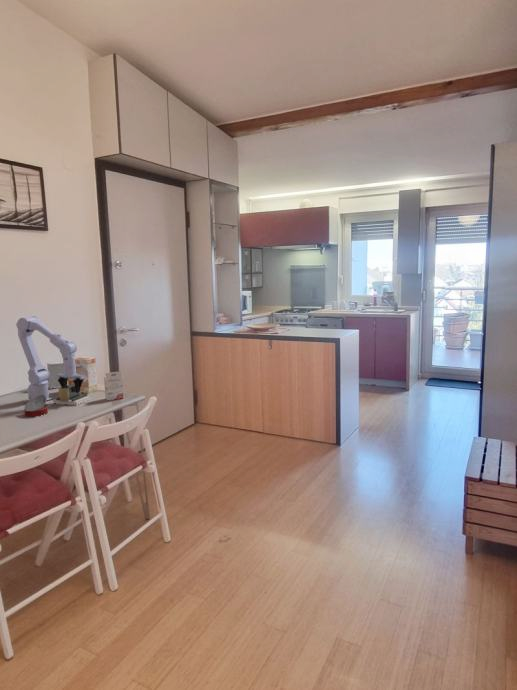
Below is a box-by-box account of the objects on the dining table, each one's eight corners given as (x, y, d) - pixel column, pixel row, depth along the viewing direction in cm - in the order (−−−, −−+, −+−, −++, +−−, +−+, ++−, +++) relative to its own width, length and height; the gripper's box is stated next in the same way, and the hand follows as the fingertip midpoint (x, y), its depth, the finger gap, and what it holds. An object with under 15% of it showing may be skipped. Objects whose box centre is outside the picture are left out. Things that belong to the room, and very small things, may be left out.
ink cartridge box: (121, 396, 243) (120, 369, 241) (123, 398, 239) (122, 371, 237) (105, 398, 239) (103, 371, 237) (106, 400, 235) (105, 373, 233)
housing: (72, 395, 238) (71, 383, 237) (80, 396, 237) (80, 384, 236) (59, 400, 229) (58, 388, 228) (67, 401, 227) (67, 388, 226)
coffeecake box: (68, 391, 256) (65, 357, 253) (77, 388, 262) (75, 355, 259) (88, 393, 250) (86, 359, 247) (98, 390, 257) (95, 357, 254)
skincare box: (50, 389, 261) (48, 364, 259) (48, 387, 266) (46, 362, 264) (65, 387, 266) (63, 362, 264) (63, 385, 271) (61, 361, 268)
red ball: (48, 423, 214) (50, 407, 210) (24, 424, 209) (25, 408, 204) (45, 407, 222) (47, 391, 218) (22, 408, 217) (24, 392, 212)
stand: (53, 403, 231) (53, 398, 230) (68, 398, 241) (67, 392, 241) (76, 405, 227) (76, 399, 227) (90, 399, 237) (90, 394, 237)
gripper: (52, 367, 230) (54, 393, 232) (76, 368, 226) (78, 394, 228) (61, 364, 236) (63, 389, 238) (85, 365, 232) (87, 391, 234)
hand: (71, 392), depth 233 cm, fingers open, 7 cm apart
